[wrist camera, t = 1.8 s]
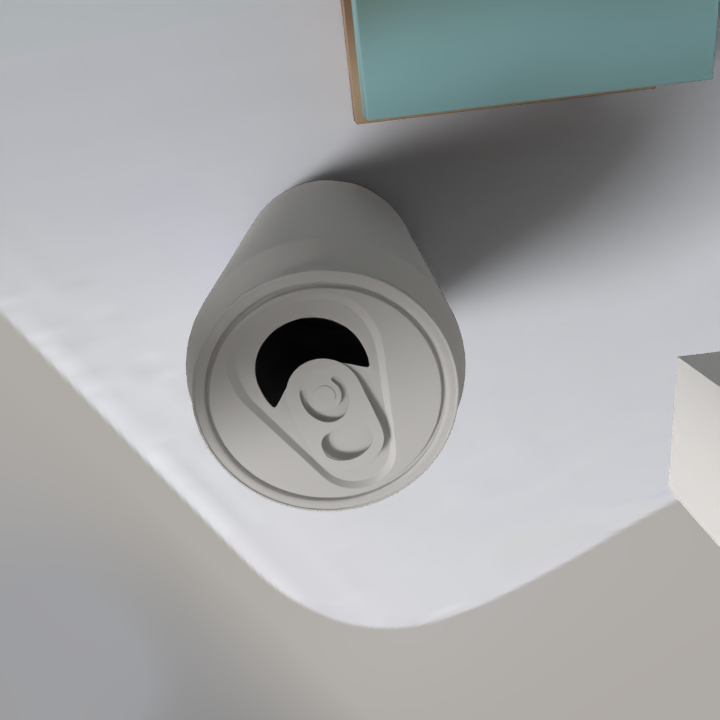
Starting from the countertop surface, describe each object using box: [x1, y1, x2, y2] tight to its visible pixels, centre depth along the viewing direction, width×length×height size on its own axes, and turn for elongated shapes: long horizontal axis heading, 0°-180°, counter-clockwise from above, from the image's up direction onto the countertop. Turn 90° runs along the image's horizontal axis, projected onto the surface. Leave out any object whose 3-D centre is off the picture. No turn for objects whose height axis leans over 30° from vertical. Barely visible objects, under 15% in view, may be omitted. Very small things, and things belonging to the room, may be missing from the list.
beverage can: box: [186, 180, 465, 511], centre depth 19 cm, size 6×6×12 cm
